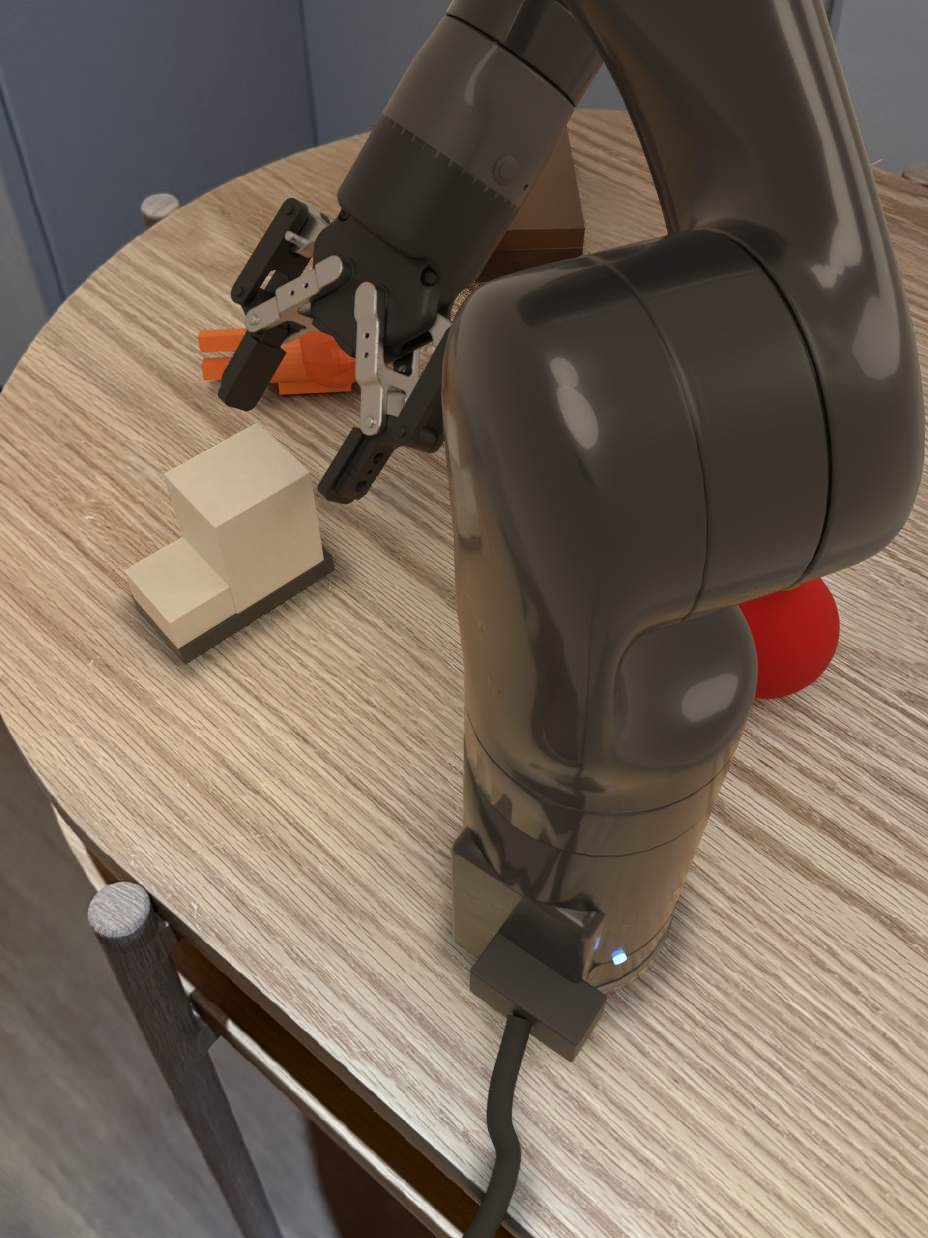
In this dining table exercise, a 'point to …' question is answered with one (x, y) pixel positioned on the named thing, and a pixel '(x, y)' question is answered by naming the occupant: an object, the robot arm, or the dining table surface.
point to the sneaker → (231, 543)
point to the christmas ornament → (792, 637)
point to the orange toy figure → (288, 361)
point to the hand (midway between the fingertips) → (281, 450)
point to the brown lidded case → (543, 221)
